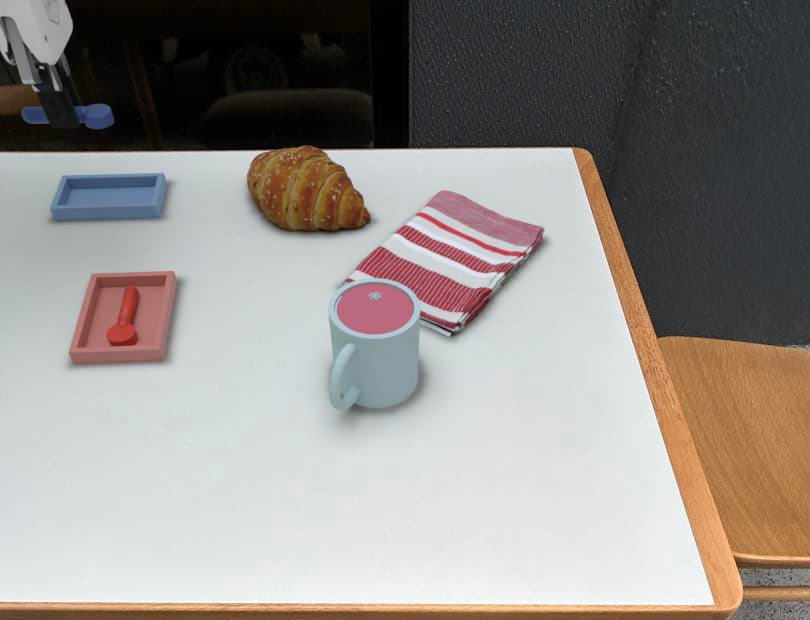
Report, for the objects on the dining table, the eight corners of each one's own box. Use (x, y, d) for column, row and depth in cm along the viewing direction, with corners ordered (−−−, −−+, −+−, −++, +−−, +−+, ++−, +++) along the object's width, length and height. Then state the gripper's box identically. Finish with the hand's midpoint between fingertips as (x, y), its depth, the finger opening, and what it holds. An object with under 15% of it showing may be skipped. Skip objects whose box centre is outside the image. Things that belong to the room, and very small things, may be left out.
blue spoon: (22, 130, 74) (15, 115, 73) (29, 115, 76) (22, 100, 75) (111, 129, 75) (106, 113, 73) (116, 114, 76) (111, 99, 75)
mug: (361, 342, 78) (356, 268, 70) (431, 368, 76) (435, 295, 68) (298, 419, 72) (285, 348, 63) (373, 450, 70) (370, 381, 61)
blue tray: (56, 223, 90) (49, 208, 88) (68, 189, 94) (62, 175, 93) (160, 220, 91) (156, 205, 89) (168, 187, 95) (163, 172, 93)
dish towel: (545, 242, 89) (549, 224, 87) (455, 342, 78) (456, 324, 76) (438, 201, 94) (439, 183, 91) (339, 290, 83) (338, 272, 81)
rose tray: (164, 363, 76) (159, 349, 74) (75, 367, 76) (68, 352, 74) (178, 285, 84) (174, 270, 82) (97, 287, 83) (91, 273, 81)
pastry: (387, 212, 92) (386, 153, 85) (327, 258, 87) (321, 199, 80) (277, 163, 99) (268, 104, 92) (214, 203, 93) (200, 144, 86)
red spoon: (121, 294, 82) (117, 283, 80) (148, 293, 82) (143, 282, 80) (107, 350, 76) (102, 339, 75) (136, 349, 76) (131, 338, 75)
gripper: (2, -64, 56) (88, 159, 71) (46, -123, 64) (114, 88, 80) (-90, -64, 56) (17, 160, 71) (-33, -123, 64) (51, 89, 80)
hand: (68, 120), depth 75 cm, fingers closed on blue spoon, 1 cm apart
